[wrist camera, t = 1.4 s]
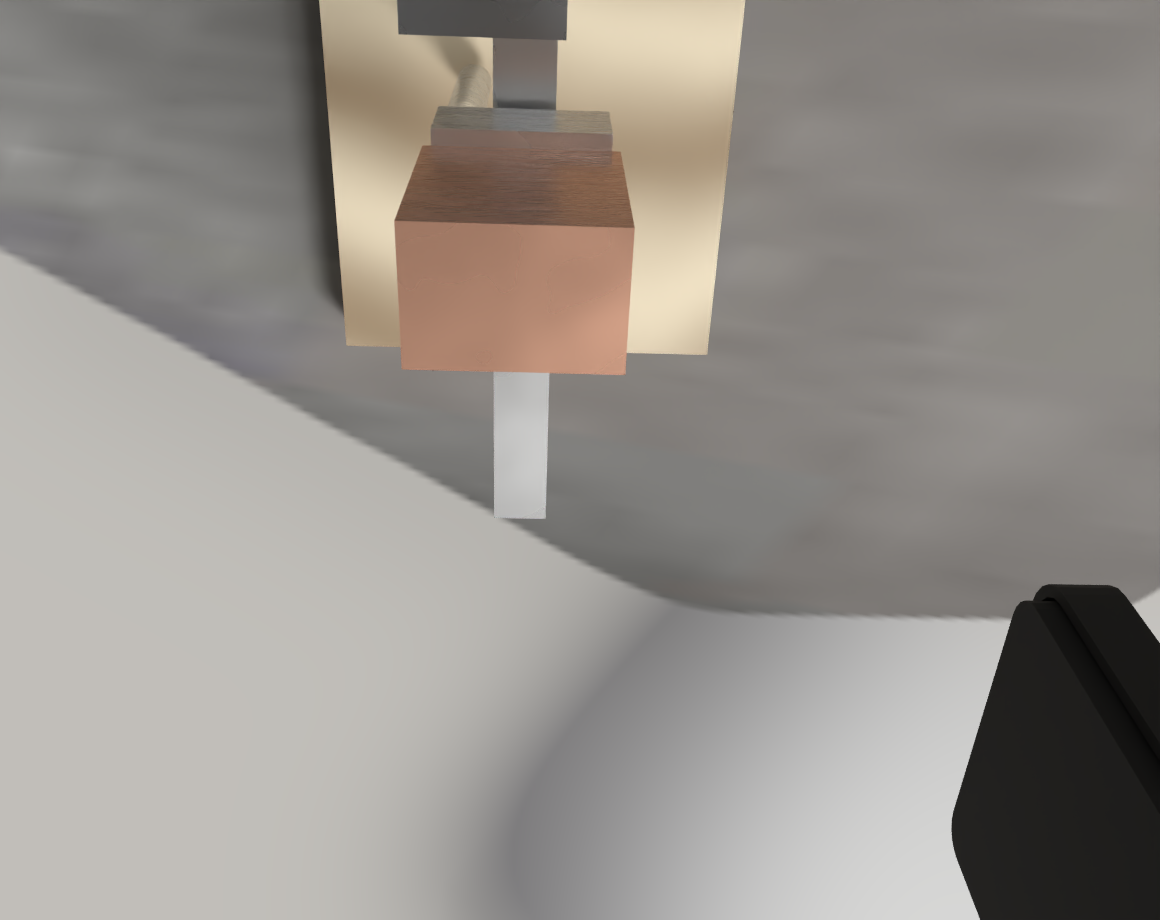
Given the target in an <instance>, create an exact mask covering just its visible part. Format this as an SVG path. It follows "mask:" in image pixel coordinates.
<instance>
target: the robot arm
mask: <svg viewBox="0 0 1160 920" xmlns="http://www.w3.org/2000/svg"><path fill="white" fill-rule="evenodd" d="M952 841H953V846H954V851H955V854H956V857H957V860H958V863H959V866H960V868H961V871H962V873H963V876H964V879H965V881H966V884H967V886H968V889H969V891H970V894H971V897H972V899H973V902H974V905H975V907H976V910H977V912H978V915H979V918H980V920H1160V643H1159V641H1158V640H1157V639H1156V637H1155V636H1154V635H1153V633H1152V632H1151V630H1150V629H1149V628H1148V626H1147V625H1146V624H1145V622H1144V621H1143V619H1142V618H1141V617H1140V615H1139V614H1138V613H1137V611H1136V610H1135V608H1134V607H1133V606H1132V604H1131V603H1130V602H1129V600H1128V599H1127V597H1126V596H1125V595H1124V594H1123V593H1122V592H1121V591H1120V590H1119V589H1118V588H1116V587H1113V586H1110V585H1062V584H1049V585H1045V586H1042V587H1041V588H1040V589H1039V591H1038V592H1037V593H1036V595H1035V597H1034V599H1033V601H1023V602H1020V603H1019V605H1018V606H1017V607H1016V609H1015V611H1014V614H1013V617H1012V620H1011V623H1010V627H1009V630H1008V633H1007V636H1006V640H1005V643H1004V646H1003V650H1002V653H1001V656H1000V660H999V663H998V666H997V670H996V673H995V676H994V679H993V683H992V686H991V689H990V692H989V696H988V699H987V702H986V706H985V709H984V712H983V716H982V719H981V722H980V726H979V729H978V732H977V735H976V739H975V742H974V745H973V749H972V752H971V755H970V759H969V762H968V765H967V768H966V772H965V775H964V778H963V782H962V785H961V789H960V792H959V795H958V798H957V802H956V805H955V808H954V811H953V817H952Z"/></svg>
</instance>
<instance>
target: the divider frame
mask: <svg viewBox="0 0 1160 920" xmlns="http://www.w3.org/2000/svg"><path fill="white" fill-rule="evenodd" d="M567 7H568V0H397V12H398V34H400V35H428V36H456V37H484V38H493V108H515V109H544V110H556V93H557V55H558V40H567ZM548 400H549V373H529V372H494V518H533V519H545V515H546V477H547V438H548Z"/></svg>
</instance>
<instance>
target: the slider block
mask: <svg viewBox="0 0 1160 920" xmlns="http://www.w3.org/2000/svg"><path fill="white" fill-rule="evenodd" d="M491 84H492V81H491V76H490V74H489V72H488V71H487V70H486V69H485V68H484V67H482V66H481V65H477V64H470V65H467V66H465V67H464V68H463V69H462V70H461V71H460V72H459V75H458V78H457V81H456V83H455V86H454V89H453V92H452V95H451V98H450V101H449V104H448V106H438V109H437V112H436V115H435V117H434V120H433V123H432V125H431V128H430V130H431V145H422V148H421V150H420V153H419V156H418V158H417V161H416V164H415V166H414V169H413V172H412V175H411V177H410V180H409V183H408V185H407V188H406V191H405V193H404V196H403V199H402V201H401V204H400V207H399V209H398V212H397V215H396V217H395V220H394V227H395V246H396V266H397V285H398V305H399V324H400V344H401V363H402V369H408V370H448V371H489V372H529V373H569V374H609V375H625V369H626V354H627V339H628V324H629V309H630V294H631V279H632V264H633V248H634V233H635V226H634V221H633V215H632V210H631V205H630V199H629V194H628V188H627V183H626V178H625V172H624V167H623V161H622V156H621V152H617V151H612V147H613V130H612V125H611V119H610V113H609V112H604V111H574V110H544V109H515V108H487V103H488V99H489V94H490V89H491Z"/></svg>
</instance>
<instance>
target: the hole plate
mask: <svg viewBox="0 0 1160 920" xmlns="http://www.w3.org/2000/svg"><path fill="white" fill-rule="evenodd" d="M319 4H320V17H321V29H322V42H323V54H324V67H325V80H326V92H327V105H328V117H329V130H330V142H331V155H332V168H333V180H334V193H335V205H336V218H337V231H338V243H339V256H340V268H341V281H342V293H343V306H344V319H345V331H346V344H347V346H385V347H401V344H400V324H399V305H398V285H397V266H396V246H395V227H394V220H395V217H396V215H397V212H398V209H399V207H400V204H401V201H402V199H403V196H404V193H405V191H406V188H407V185H408V183H409V180H410V177H411V175H412V172H413V169H414V166H415V164H416V161H417V158H418V156H419V153H420V150H421V148H422V145H431V130H430V128H431V125H432V123H433V120H434V117H435V115H436V112H437V109H438V106H448V104H449V101H450V98H451V95H452V92H453V89H454V86H455V83H456V81H457V78H458V75H459V72H460V71H461V70H462V69H463V68H464V67H465V66H467V65H470V64H477V65H481V66H482V67H484V68H485V69H486V70H487V71H488V72H489V74H490V76H491V81H492V84H491V89H490V94H489V99H488V103H487V108H493V38H484V37H456V36H428V35H400V34H398V12H397V0H319ZM744 6H745V0H568V7H567V40H558V55H557V93H556V110H574V111H604V112H609V113H610V119H611V125H612V130H613V147H612V151H617V152H621V156H622V161H623V167H624V172H625V178H626V183H627V188H628V194H629V199H630V205H631V210H632V215H633V221H634V226H635V233H634V248H633V264H632V279H631V294H630V309H629V324H628V339H627V353H658V354H697V355H707V349H708V340H709V330H710V321H711V312H712V302H713V293H714V284H715V275H716V265H717V256H718V247H719V238H720V228H721V219H722V210H723V201H724V191H725V182H726V173H727V164H728V154H729V145H730V136H731V127H732V117H733V108H734V99H735V90H736V80H737V71H738V62H739V53H740V43H741V34H742V25H743V16H744Z"/></svg>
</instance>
